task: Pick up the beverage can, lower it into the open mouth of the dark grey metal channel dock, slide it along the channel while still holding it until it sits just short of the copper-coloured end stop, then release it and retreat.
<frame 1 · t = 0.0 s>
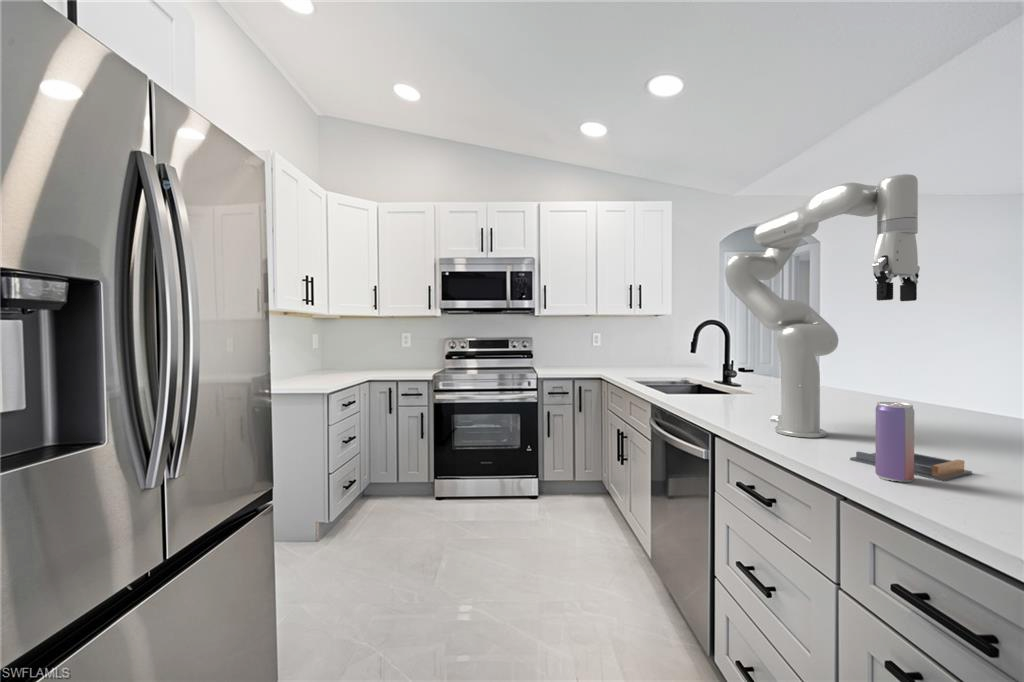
hand: (896, 300, 112), 37 cm above the worktop, tool pointing down, fingers open, 9 cm apart
beverage can: (894, 479, 93), on the worktop
dock: (904, 465, 102), on the worktop
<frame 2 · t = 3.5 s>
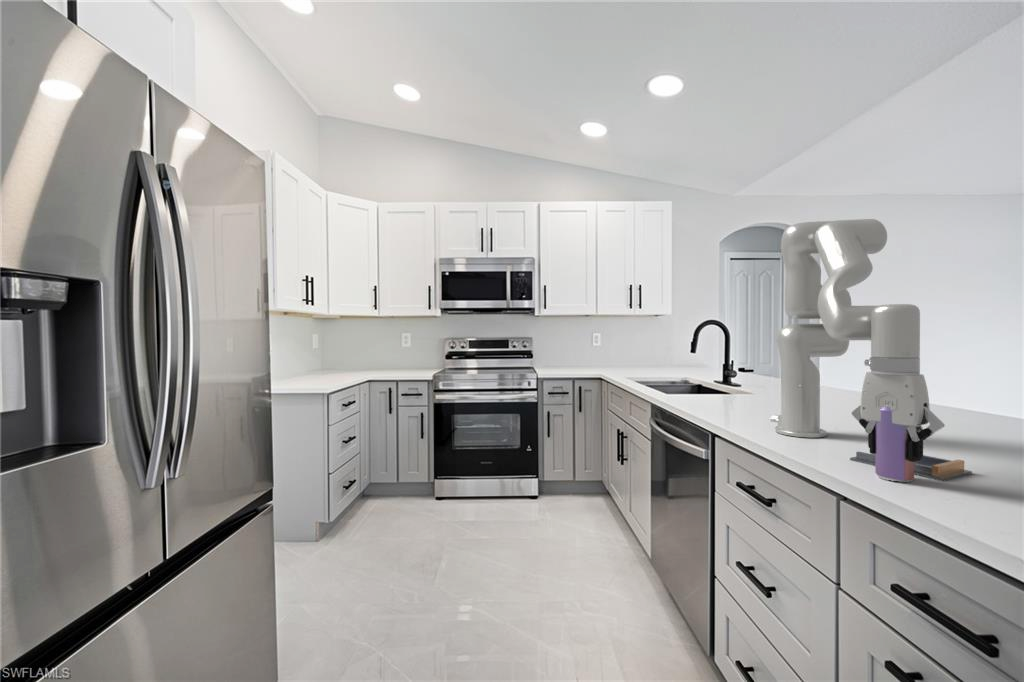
hand: (894, 455, 93), 5 cm above the worktop, tool pointing down, fingers closed on beverage can, 6 cm apart
beverage can: (894, 479, 93), on the worktop, touching gripper
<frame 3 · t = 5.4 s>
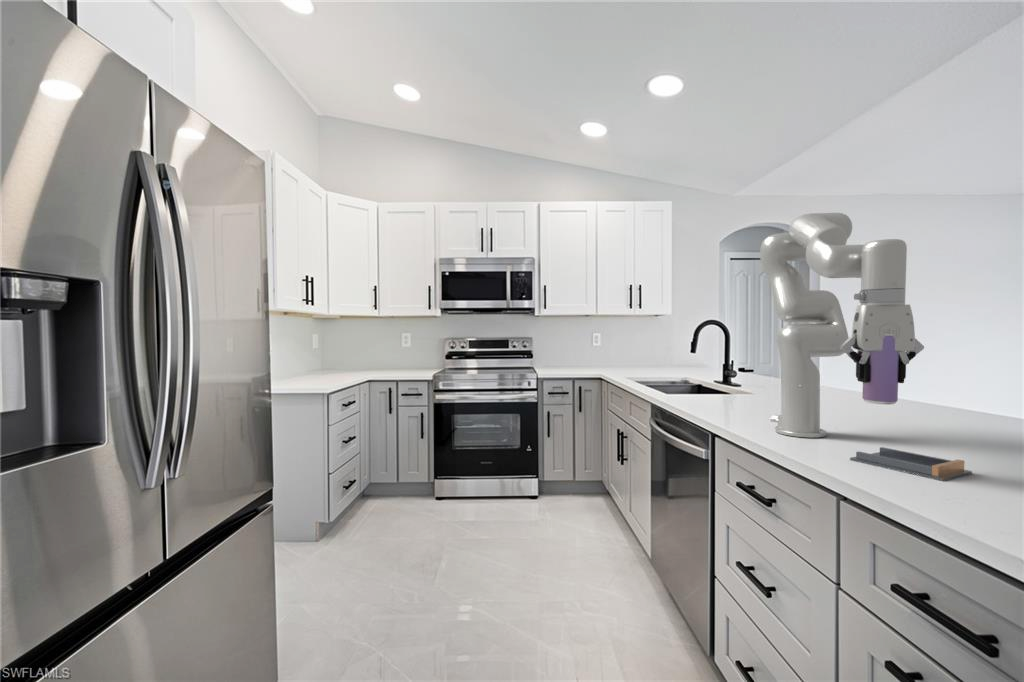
hand: (880, 381, 101), 19 cm above the worktop, tool pointing down, fingers closed on beverage can, 5 cm apart
beverage can: (879, 403, 101), point 14 cm above the worktop, touching gripper
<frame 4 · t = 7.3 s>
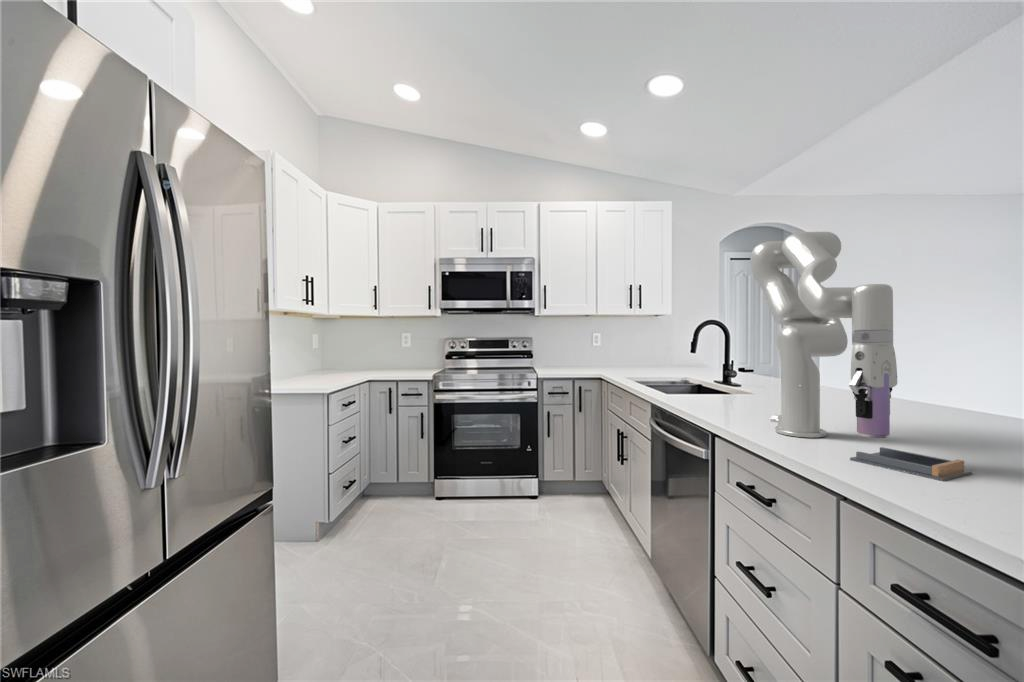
hand: (872, 415, 107), 10 cm above the worktop, tool pointing down, fingers closed on beverage can, 5 cm apart
beverage can: (873, 436, 107), point 5 cm above the worktop, touching gripper
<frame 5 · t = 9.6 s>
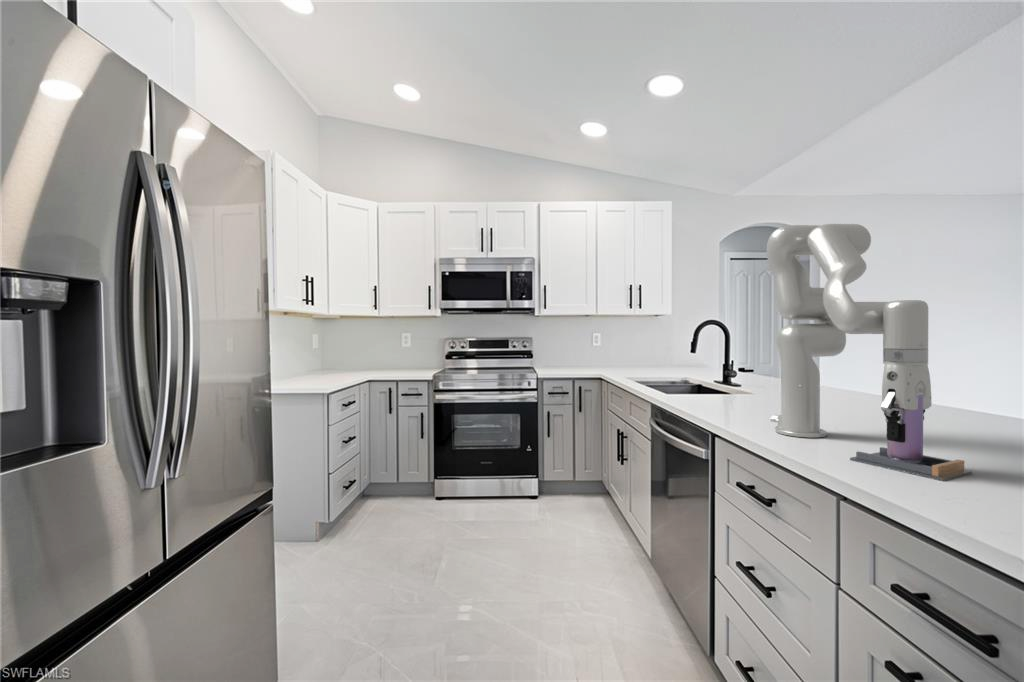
hand: (904, 438, 101), 6 cm above the worktop, tool pointing down, fingers closed on beverage can, 5 cm apart
beverage can: (904, 460, 102), point 1 cm above the worktop, touching gripper
when the fingers open (5 cm above the worktop, at t = 11.4 s): beverage can stays where it is, resting on dock.
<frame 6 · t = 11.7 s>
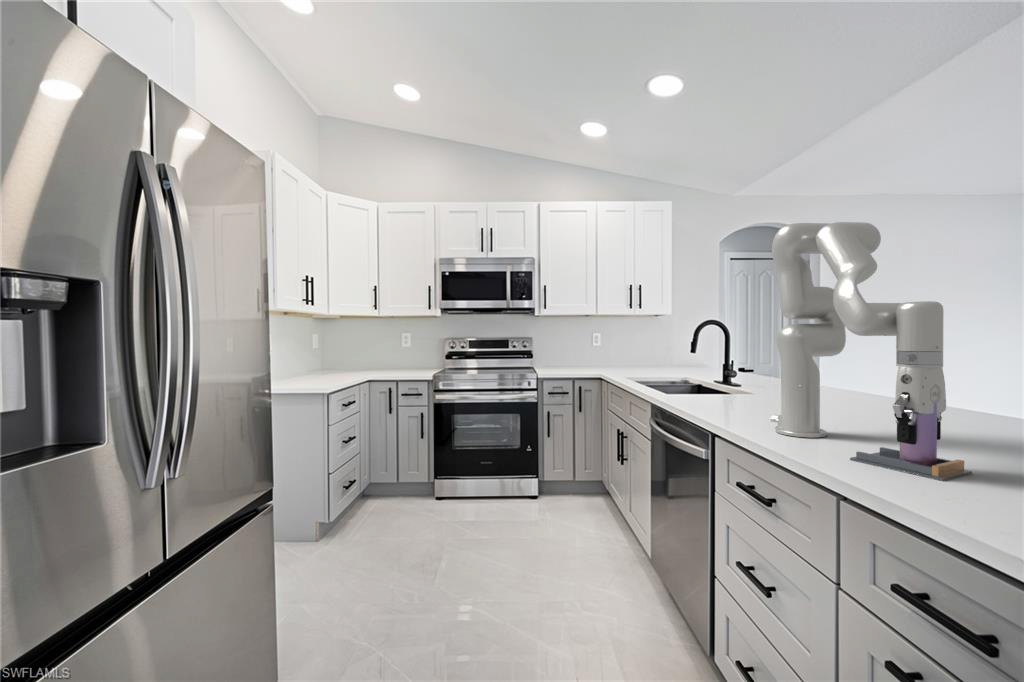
hand: (918, 440, 99), 6 cm above the worktop, tool pointing down, fingers open, 8 cm apart
beverage can: (917, 467, 99), resting on dock
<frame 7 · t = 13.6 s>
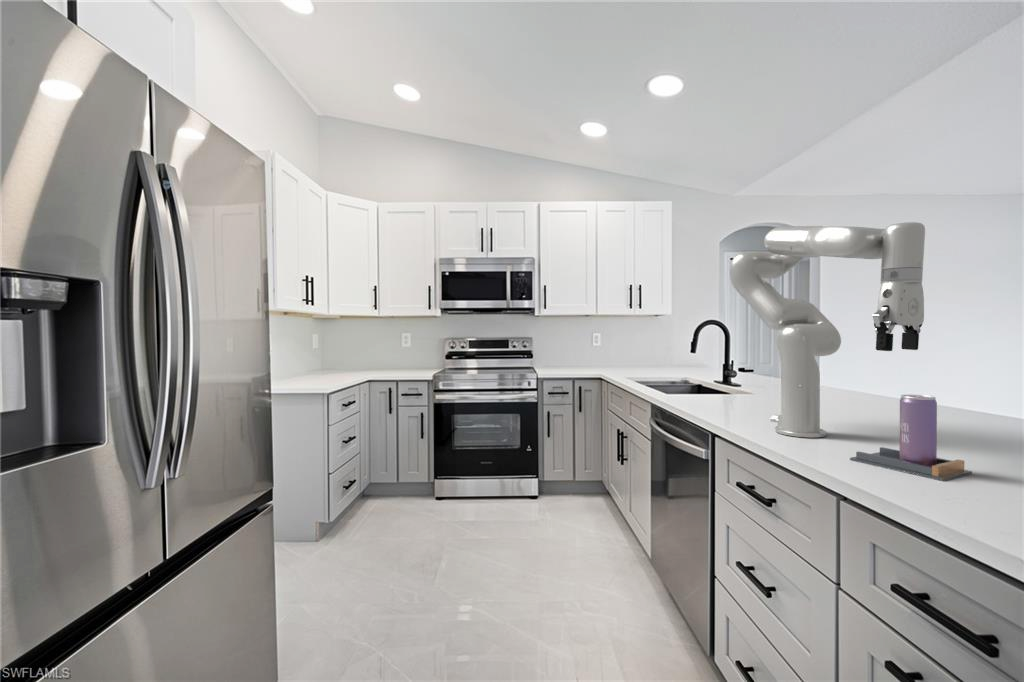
hand: (897, 350, 110), 25 cm above the worktop, tool pointing down, fingers open, 9 cm apart
nothing on the worktop moved.
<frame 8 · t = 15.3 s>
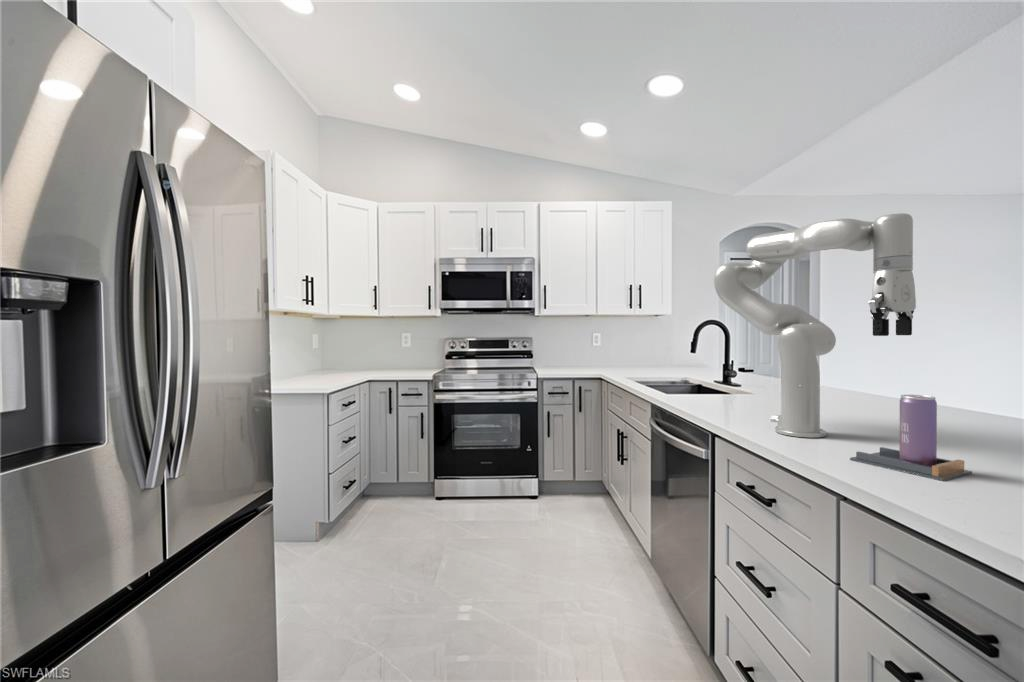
hand: (892, 335, 115), 28 cm above the worktop, tool pointing down, fingers open, 9 cm apart
nothing on the worktop moved.
at the end: beverage can 0.7 cm from the target spot on the dock, point 0.3 cm above the dock's base; beverage can tilted 0°; the gripper is holding nothing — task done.
